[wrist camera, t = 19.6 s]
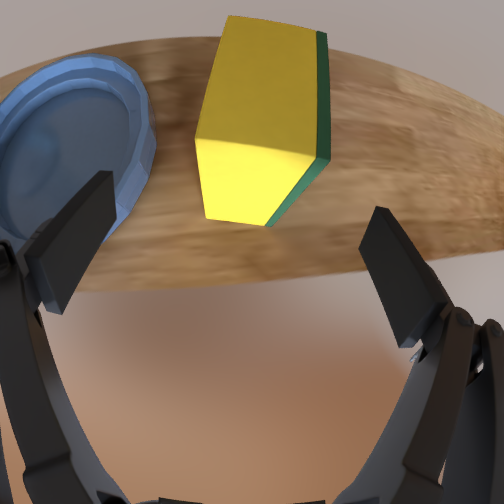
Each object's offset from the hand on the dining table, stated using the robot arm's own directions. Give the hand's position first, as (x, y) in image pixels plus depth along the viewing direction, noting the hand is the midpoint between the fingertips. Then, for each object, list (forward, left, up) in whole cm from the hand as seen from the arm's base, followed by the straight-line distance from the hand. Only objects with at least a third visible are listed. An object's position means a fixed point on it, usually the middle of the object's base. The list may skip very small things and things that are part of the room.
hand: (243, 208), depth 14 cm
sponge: (0, +4, -6) cm, 7 cm away
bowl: (-15, +4, -6) cm, 17 cm away
